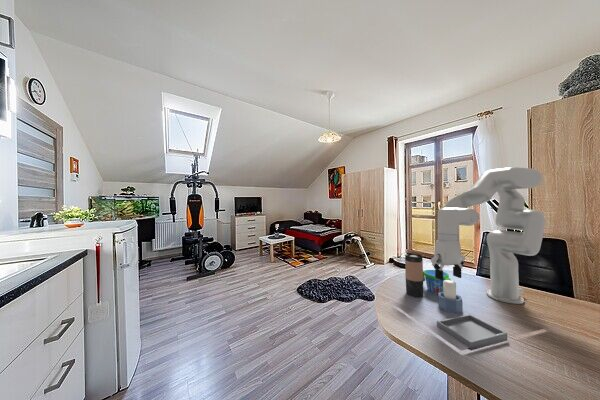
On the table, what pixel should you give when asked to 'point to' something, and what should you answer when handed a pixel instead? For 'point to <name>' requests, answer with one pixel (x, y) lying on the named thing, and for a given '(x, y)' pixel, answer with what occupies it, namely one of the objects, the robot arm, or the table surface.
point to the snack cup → (434, 281)
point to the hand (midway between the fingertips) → (448, 277)
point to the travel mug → (414, 275)
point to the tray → (473, 331)
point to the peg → (449, 289)
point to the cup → (450, 303)
